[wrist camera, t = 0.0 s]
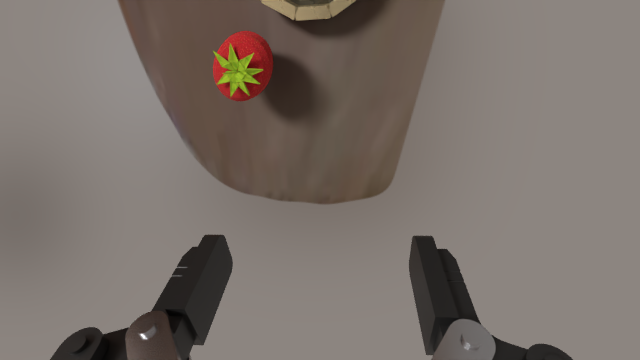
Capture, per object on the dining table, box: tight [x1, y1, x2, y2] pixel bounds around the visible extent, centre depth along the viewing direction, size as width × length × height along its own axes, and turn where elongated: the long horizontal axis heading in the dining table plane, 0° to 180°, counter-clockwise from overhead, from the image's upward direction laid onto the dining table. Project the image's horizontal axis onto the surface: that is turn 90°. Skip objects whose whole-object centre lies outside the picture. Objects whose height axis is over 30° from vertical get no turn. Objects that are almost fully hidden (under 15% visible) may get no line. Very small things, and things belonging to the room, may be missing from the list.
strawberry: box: [213, 31, 273, 101], centre depth 33 cm, size 6×8×10 cm
